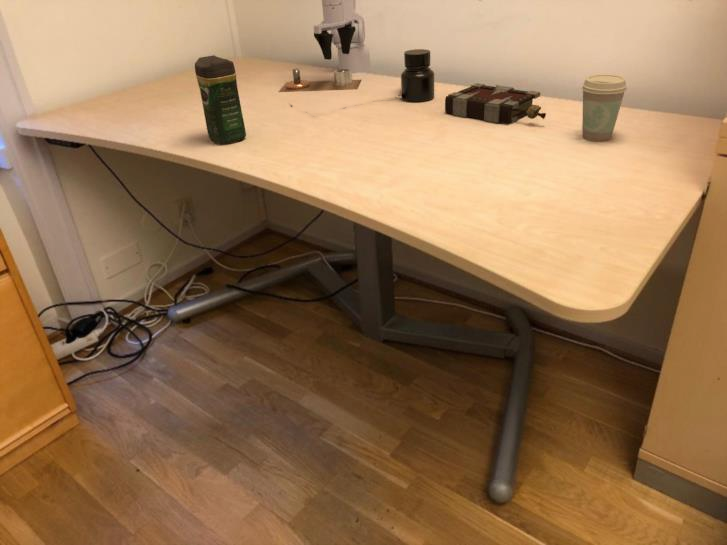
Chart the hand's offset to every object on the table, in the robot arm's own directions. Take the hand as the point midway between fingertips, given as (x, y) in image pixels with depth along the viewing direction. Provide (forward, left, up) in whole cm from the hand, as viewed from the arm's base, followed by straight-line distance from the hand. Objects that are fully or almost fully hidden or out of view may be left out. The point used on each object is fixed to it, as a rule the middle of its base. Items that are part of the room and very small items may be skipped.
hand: (337, 56), depth 166 cm
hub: (+10, -7, -8) cm, 15 cm away
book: (-19, +49, -10) cm, 53 cm away
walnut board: (+5, -3, -9) cm, 11 cm away
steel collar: (-1, +1, -8) cm, 8 cm away
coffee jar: (+41, +21, -10) cm, 47 cm away
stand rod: (-1, +1, -8) cm, 8 cm away
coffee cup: (-23, +74, -10) cm, 78 cm away
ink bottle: (-12, +23, -10) cm, 27 cm away
